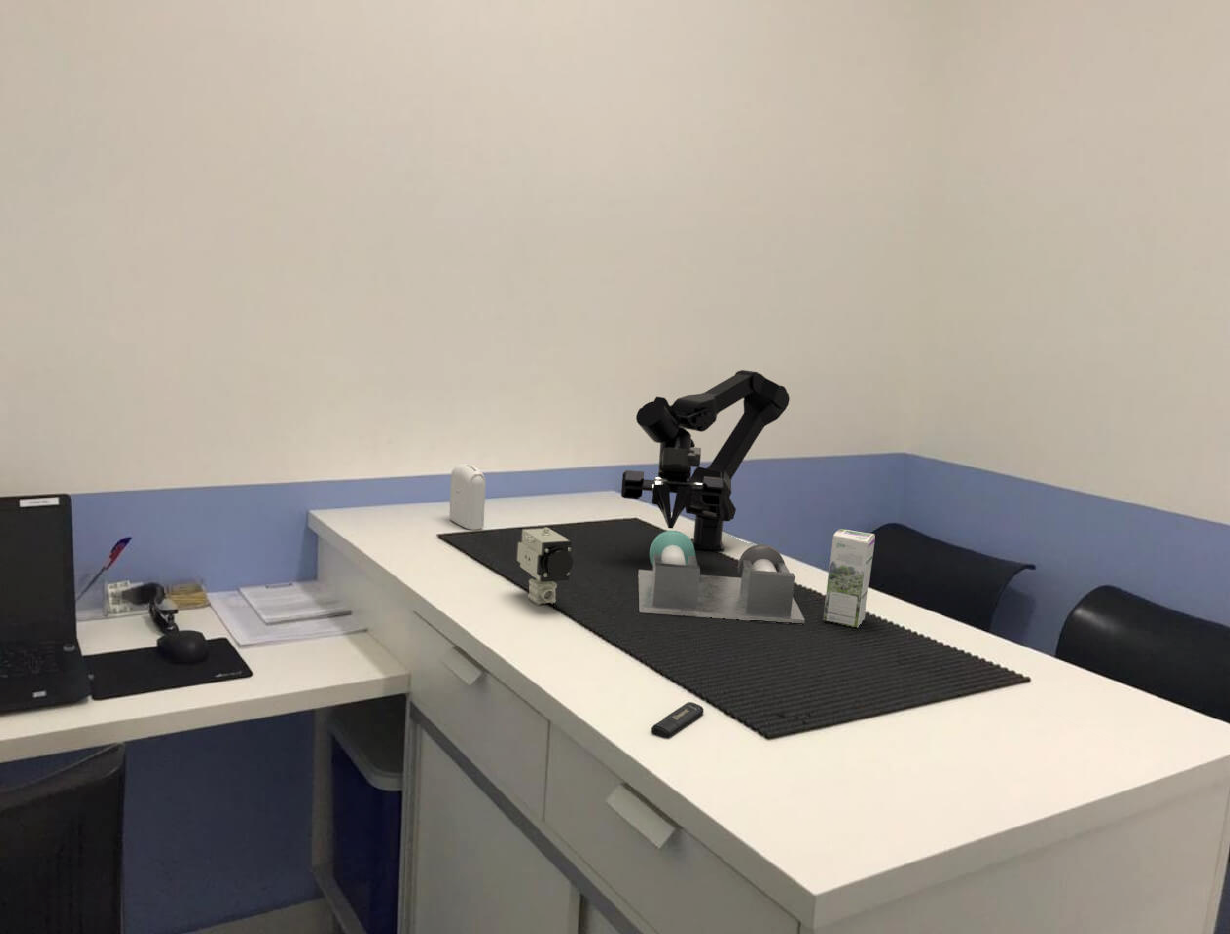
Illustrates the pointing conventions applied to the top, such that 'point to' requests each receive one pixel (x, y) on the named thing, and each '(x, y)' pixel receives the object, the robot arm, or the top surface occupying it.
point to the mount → (718, 592)
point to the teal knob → (672, 548)
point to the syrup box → (848, 577)
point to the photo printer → (467, 496)
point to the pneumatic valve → (544, 561)
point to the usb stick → (677, 720)
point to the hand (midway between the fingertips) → (670, 527)
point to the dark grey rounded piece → (761, 558)
